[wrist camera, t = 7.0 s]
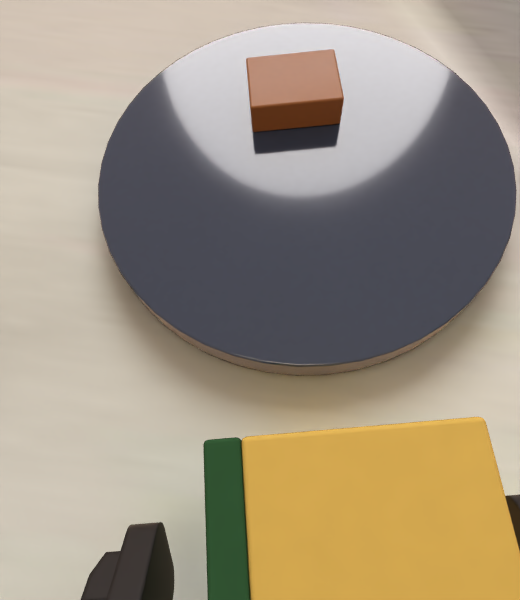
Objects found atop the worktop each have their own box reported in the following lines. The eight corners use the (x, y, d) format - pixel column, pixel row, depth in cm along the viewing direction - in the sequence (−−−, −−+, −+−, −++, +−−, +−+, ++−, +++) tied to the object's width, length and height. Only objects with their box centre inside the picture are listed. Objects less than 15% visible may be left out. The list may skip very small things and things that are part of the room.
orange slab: (252, 133, 20) (250, 107, 19) (248, 84, 21) (245, 56, 20) (340, 124, 20) (344, 98, 19) (331, 76, 21) (334, 48, 20)
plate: (98, 395, 18) (82, 387, 16) (118, 65, 24) (108, 40, 23) (557, 354, 17) (581, 343, 16) (447, 32, 24) (457, 5, 23)
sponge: (261, 665, 14) (218, 1017, 5) (248, 463, 16) (202, 440, 7) (404, 653, 14) (639, 991, 5) (371, 453, 16) (486, 415, 7)
